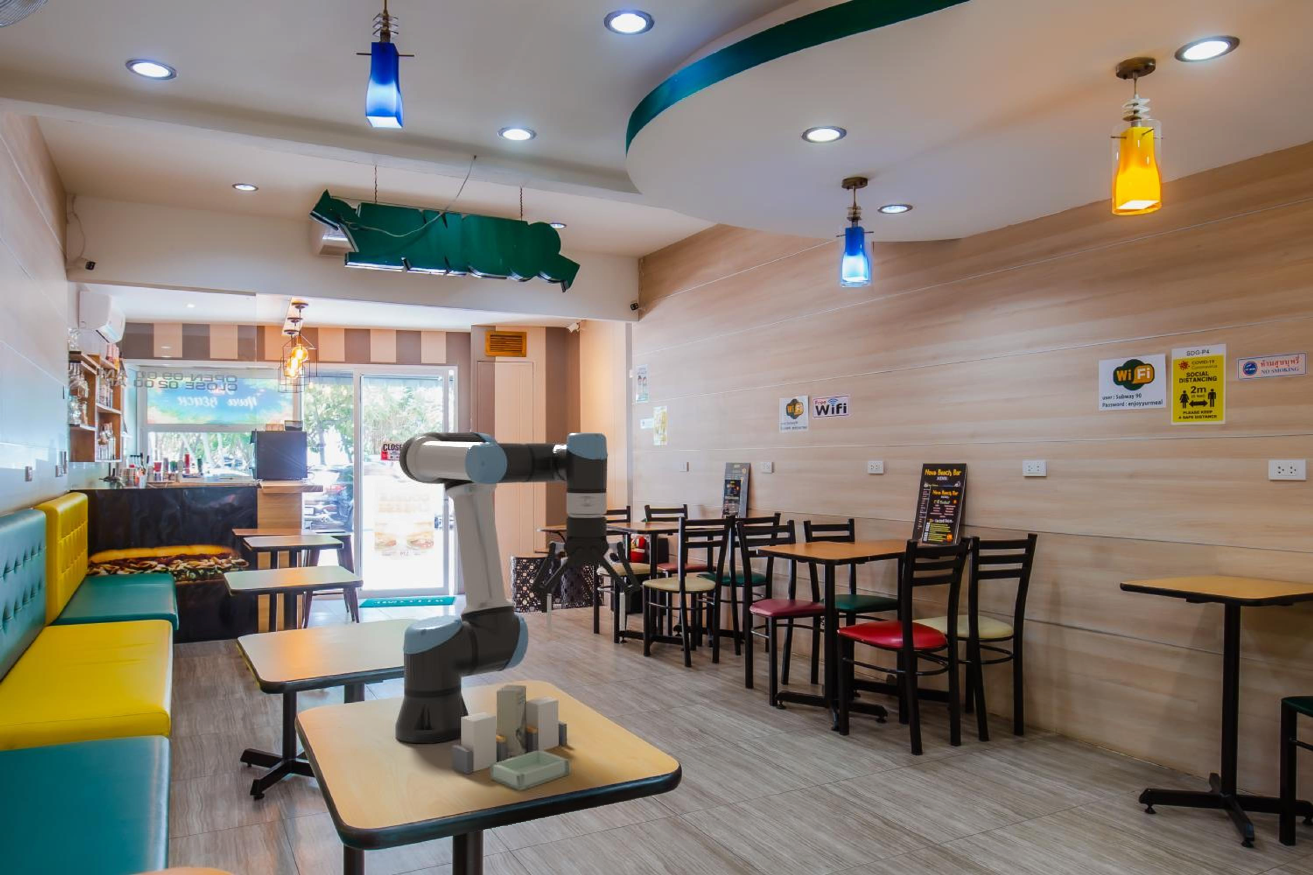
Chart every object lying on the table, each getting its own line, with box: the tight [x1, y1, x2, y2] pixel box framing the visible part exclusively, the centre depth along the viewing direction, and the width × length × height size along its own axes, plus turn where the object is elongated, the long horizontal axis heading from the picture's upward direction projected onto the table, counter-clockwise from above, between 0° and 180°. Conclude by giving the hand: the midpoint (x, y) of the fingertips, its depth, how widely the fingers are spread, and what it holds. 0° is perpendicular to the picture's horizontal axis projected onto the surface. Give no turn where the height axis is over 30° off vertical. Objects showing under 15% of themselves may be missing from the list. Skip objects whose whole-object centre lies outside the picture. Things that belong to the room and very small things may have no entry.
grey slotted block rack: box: [451, 720, 568, 775], centre depth 168 cm, size 5×23×5 cm, turn 135°
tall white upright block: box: [460, 711, 497, 773], centre depth 162 cm, size 4×5×9 cm
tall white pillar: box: [526, 696, 560, 751], centre depth 173 cm, size 4×5×9 cm
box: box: [496, 684, 528, 760], centre depth 168 cm, size 5×4×13 cm
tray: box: [489, 750, 570, 792], centre depth 156 cm, size 9×11×2 cm
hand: (585, 629), depth 163 cm, fingers open, 13 cm apart
